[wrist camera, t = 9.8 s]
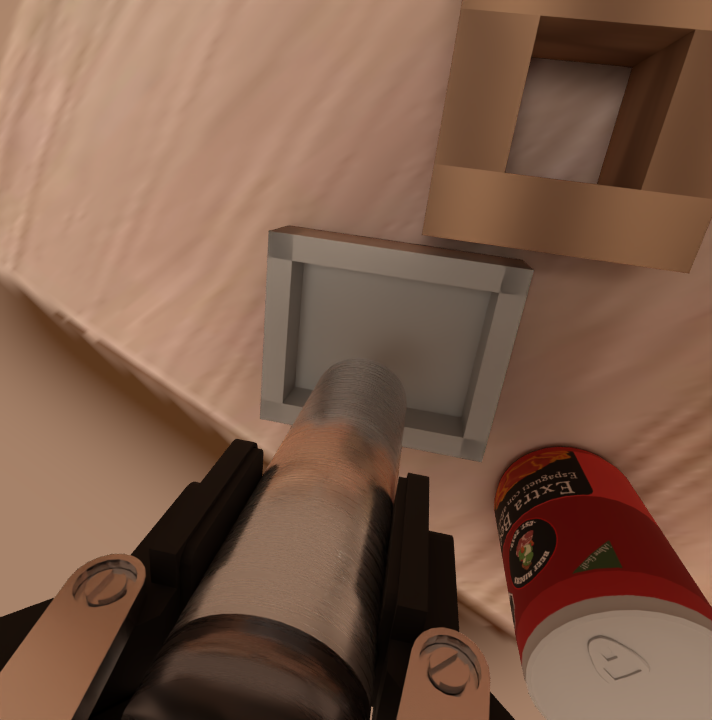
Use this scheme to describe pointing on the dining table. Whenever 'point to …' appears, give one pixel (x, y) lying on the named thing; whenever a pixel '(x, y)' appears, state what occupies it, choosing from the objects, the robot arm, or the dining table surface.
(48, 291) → the dining table surface
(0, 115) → the dining table surface
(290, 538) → the pin
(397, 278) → the tray
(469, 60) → the block
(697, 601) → the canned food
